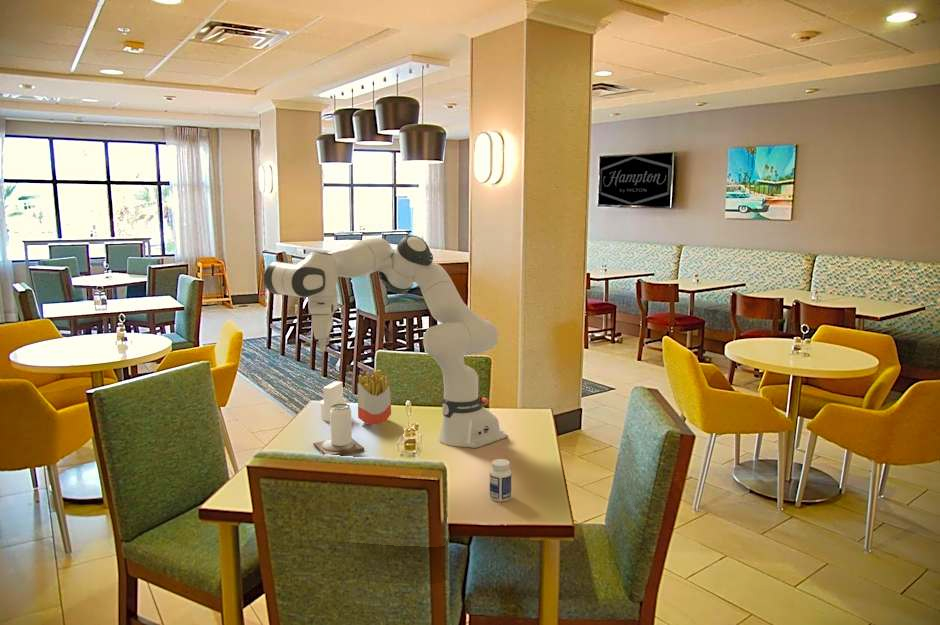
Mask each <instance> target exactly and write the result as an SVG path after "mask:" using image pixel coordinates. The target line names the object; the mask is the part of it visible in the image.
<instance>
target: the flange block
mask: <svg viewBox="0 0 940 625" xmlns="http://www.w3.org/2000/svg"><path fill="white" fill-rule="evenodd" d="M312 444H313V445H314V446H315V447H316V448H317V449H318V450H320V451H321V452H322V453H323V454H331V455H342V456H346V455H351V454H355V453H361V452H364V451H365V447H364V446H362V445H361V444H360V443H359V442H358V441H356V440H355V439H354V438H352V442H351V443H350V444H349V445H347V446H334V445H332V444H331V438H330V439H328V440H322V441H317V442H313V443H312ZM314 446H313V447H314ZM315 447H314V448H315ZM316 448H315V449H316ZM317 449H316V450H317ZM318 450H317V451H318ZM322 453H321V454H322ZM323 454H322V455H323Z"/></svg>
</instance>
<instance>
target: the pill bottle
mask: <svg viewBox="0 0 940 625" xmlns="http://www.w3.org/2000/svg"><path fill="white" fill-rule="evenodd" d="M510 465H511V464H510V461H509V460H508V459H506V458H505V459H503V458H497V459H494V460H492V461H491V469H490V471H489V498H490V500H491V501H495V502H499V503H500V502H501V503H502V502H507V501H510V499H511V498H512V471H511V469H510V467H511V466H510Z"/></svg>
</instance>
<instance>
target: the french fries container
mask: <svg viewBox="0 0 940 625" xmlns="http://www.w3.org/2000/svg"><path fill="white" fill-rule="evenodd" d="M365 373H366V374H365V375H361V374H360V375H358V376H357V378H358V382H357V418H358V419H359V420H361V421H362V422H363V423H365V424H366V423H367V425H369V426H371V427H373V426H376V425H375V424H377V425H380V424H379V423H381V424H384V423H383V422H385V423H386V422H387V420H388V419H389V417H390V416H391V415H392V400H391V390H390V389H391V388H390V387H391V386H390V383H389V380H388V377H387V376H385V375H382V370H381V369H377V370H375V371H373V372H372V375H370V372H365ZM372 425H373V426H372Z"/></svg>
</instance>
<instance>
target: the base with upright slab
mask: <svg viewBox="0 0 940 625" xmlns="http://www.w3.org/2000/svg"><path fill="white" fill-rule="evenodd" d="M343 386H344V384H343V381H337V380H336V381H333V382H331V383H328V384H327V385H326V386H324V387H323V389H322V391H323V393H322V394H323V398H322V399H321V400H320V419H321V420H322V421H325V422H330V411H331V406H332V405H335V404H347V399H346V398H345V397H344V388H343Z"/></svg>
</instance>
